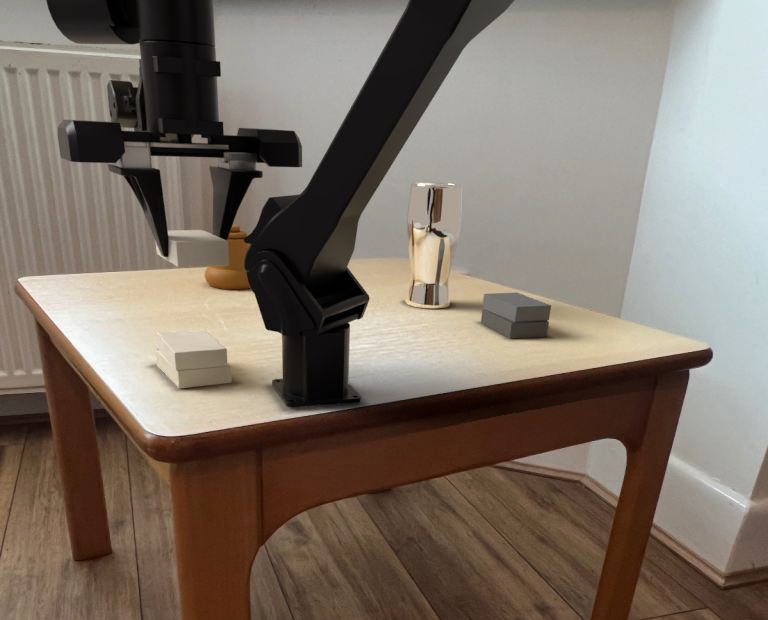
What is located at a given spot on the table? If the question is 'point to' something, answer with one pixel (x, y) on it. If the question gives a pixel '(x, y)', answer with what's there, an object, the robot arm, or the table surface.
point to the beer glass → (432, 241)
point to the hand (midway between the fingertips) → (192, 255)
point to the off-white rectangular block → (196, 249)
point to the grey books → (515, 315)
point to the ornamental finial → (231, 264)
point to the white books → (192, 358)
